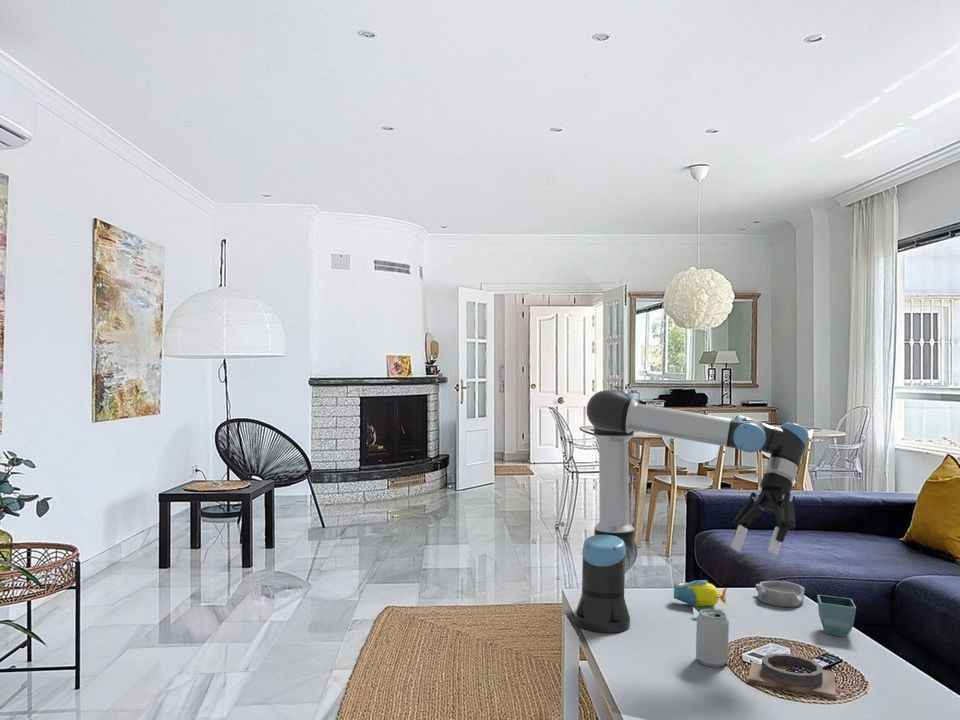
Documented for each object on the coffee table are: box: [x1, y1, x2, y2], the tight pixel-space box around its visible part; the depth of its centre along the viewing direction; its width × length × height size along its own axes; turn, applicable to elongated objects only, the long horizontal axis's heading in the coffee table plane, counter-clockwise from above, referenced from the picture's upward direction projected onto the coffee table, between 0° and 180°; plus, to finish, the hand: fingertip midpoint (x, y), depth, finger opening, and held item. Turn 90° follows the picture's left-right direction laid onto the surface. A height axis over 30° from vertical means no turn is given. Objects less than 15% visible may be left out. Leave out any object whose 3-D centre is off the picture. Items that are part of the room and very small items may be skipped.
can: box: [695, 609, 730, 668], centre depth 180 cm, size 8×8×12 cm
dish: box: [755, 580, 806, 608], centre depth 232 cm, size 14×14×5 cm
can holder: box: [747, 653, 837, 700], centre depth 171 cm, size 18×14×4 cm
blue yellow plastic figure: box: [673, 579, 727, 621], centre depth 224 cm, size 28×9×15 cm
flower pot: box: [816, 594, 857, 638], centre depth 203 cm, size 9×9×9 cm
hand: (753, 551), depth 191 cm, fingers open, 13 cm apart
